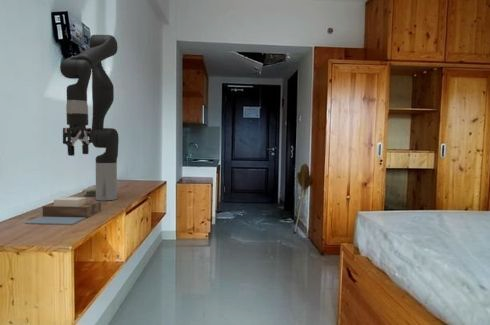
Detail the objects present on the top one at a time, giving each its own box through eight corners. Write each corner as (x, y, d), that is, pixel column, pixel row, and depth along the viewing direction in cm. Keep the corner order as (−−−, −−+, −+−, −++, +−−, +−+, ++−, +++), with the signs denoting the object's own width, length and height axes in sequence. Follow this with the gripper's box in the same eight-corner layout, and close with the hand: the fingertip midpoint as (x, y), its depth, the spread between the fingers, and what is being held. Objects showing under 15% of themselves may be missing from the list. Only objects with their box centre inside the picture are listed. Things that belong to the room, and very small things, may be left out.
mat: (41, 217, 125) (41, 216, 125) (85, 218, 125) (85, 217, 125) (24, 223, 115) (24, 222, 115) (72, 224, 115) (72, 223, 115)
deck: (60, 210, 137) (60, 200, 137) (100, 211, 137) (100, 201, 137) (42, 217, 125) (42, 206, 125) (86, 218, 125) (86, 207, 125)
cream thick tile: (62, 203, 132) (62, 197, 132) (85, 203, 132) (85, 197, 132) (53, 206, 126) (53, 199, 126) (78, 206, 126) (78, 200, 126)
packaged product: (112, 192, 186) (93, 193, 184) (112, 183, 186) (92, 184, 184) (104, 197, 168) (82, 199, 167) (103, 188, 168) (81, 189, 166)
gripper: (80, 113, 140) (81, 153, 142) (55, 111, 126) (57, 155, 128) (97, 113, 139) (98, 154, 140) (74, 111, 125) (75, 156, 126)
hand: (78, 154), depth 134 cm, fingers open, 8 cm apart
